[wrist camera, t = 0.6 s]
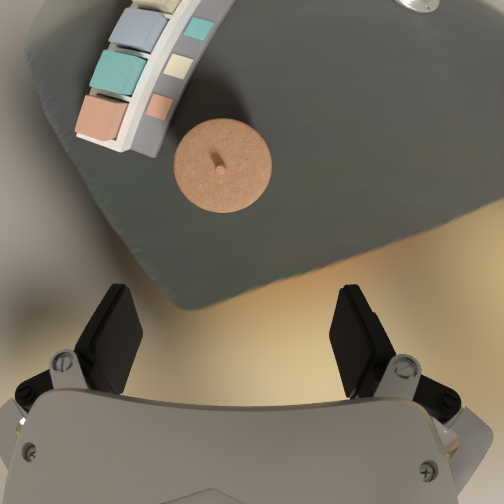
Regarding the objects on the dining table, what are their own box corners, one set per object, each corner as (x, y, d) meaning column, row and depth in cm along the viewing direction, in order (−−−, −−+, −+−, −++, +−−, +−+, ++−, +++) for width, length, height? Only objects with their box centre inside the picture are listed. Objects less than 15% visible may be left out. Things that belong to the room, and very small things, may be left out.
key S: (140, 18, 22) (126, 7, 18) (171, 24, 23) (159, 12, 19) (125, 47, 24) (108, 41, 20) (154, 54, 25) (140, 47, 21)
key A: (104, 95, 27) (85, 95, 23) (132, 103, 28) (116, 103, 24) (94, 127, 30) (74, 131, 25) (121, 136, 31) (103, 141, 26)
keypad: (162, -19, 20) (154, -29, 17) (237, -2, 23) (235, -14, 20) (90, 132, 32) (76, 136, 28) (156, 156, 34) (146, 162, 31)
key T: (121, 55, 25) (103, 49, 20) (150, 62, 26) (136, 56, 22) (107, 87, 27) (88, 85, 23) (136, 95, 28) (119, 94, 24)
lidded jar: (173, 144, 34) (150, 156, 25) (241, 102, 31) (238, 98, 23) (215, 206, 38) (205, 235, 30) (281, 169, 36) (291, 188, 27)
